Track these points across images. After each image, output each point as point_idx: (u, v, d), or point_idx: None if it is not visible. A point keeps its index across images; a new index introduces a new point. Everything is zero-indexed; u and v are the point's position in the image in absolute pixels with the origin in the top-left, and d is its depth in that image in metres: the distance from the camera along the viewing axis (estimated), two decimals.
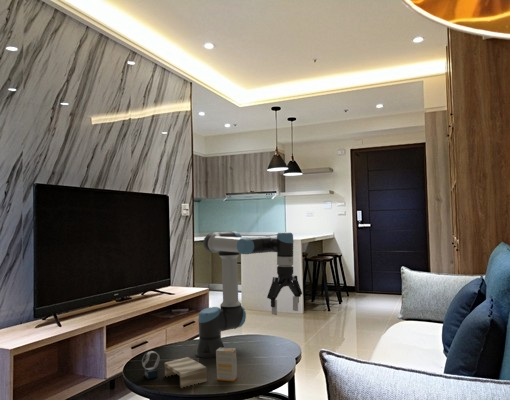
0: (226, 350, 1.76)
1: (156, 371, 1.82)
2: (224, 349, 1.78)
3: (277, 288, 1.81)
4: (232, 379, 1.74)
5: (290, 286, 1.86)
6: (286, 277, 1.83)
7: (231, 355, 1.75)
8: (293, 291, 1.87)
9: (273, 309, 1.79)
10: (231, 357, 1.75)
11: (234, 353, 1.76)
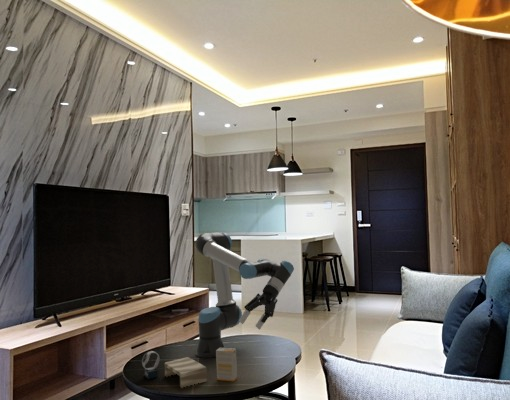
0: (226, 351, 1.76)
1: (156, 371, 1.82)
2: (224, 349, 1.78)
3: (268, 306, 1.87)
4: (232, 379, 1.74)
5: (258, 304, 1.94)
6: None
7: (231, 355, 1.75)
8: (252, 307, 1.94)
9: (260, 323, 1.81)
10: (231, 357, 1.75)
11: (234, 353, 1.76)
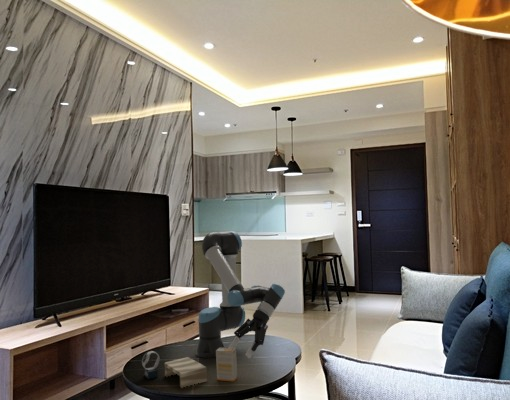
0: (226, 351, 1.76)
1: (156, 371, 1.82)
2: (224, 349, 1.78)
3: (258, 333, 1.81)
4: (232, 379, 1.74)
5: (248, 330, 1.88)
6: None
7: (231, 355, 1.75)
8: (242, 333, 1.88)
9: (250, 352, 1.75)
10: (231, 357, 1.75)
11: (234, 353, 1.76)
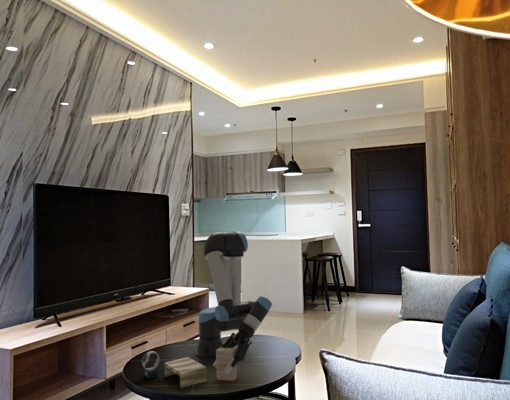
0: (226, 350, 1.76)
1: (156, 371, 1.82)
2: (224, 349, 1.78)
3: (241, 348, 1.78)
4: (232, 379, 1.74)
5: (234, 344, 1.83)
6: None
7: (231, 355, 1.75)
8: None
9: (229, 368, 1.72)
10: (231, 357, 1.75)
11: (234, 353, 1.76)
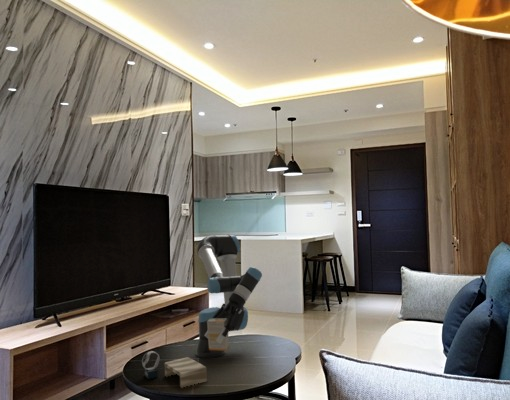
0: (217, 321, 1.76)
1: (156, 371, 1.82)
2: (215, 319, 1.78)
3: (232, 318, 1.78)
4: (224, 348, 1.75)
5: (225, 314, 1.84)
6: None
7: (222, 325, 1.75)
8: None
9: (221, 337, 1.73)
10: (222, 327, 1.75)
11: (225, 323, 1.77)
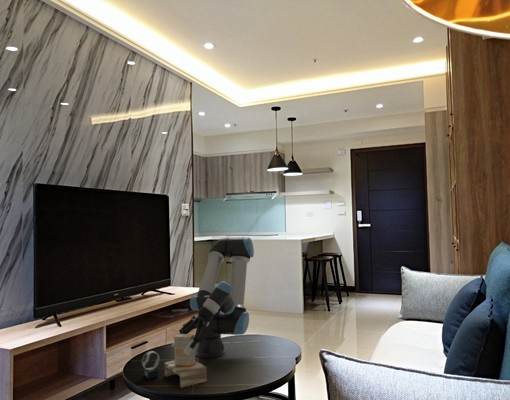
0: (184, 336, 1.79)
1: (156, 371, 1.82)
2: (182, 335, 1.81)
3: (200, 331, 1.80)
4: (189, 364, 1.77)
5: (192, 327, 1.87)
6: None
7: (189, 340, 1.78)
8: (187, 331, 1.87)
9: (188, 349, 1.74)
10: (188, 343, 1.77)
11: None
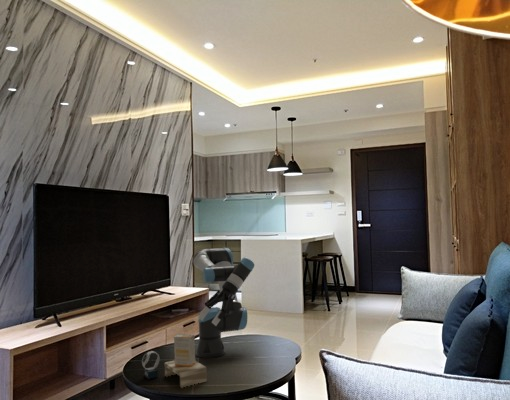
0: (184, 336, 1.79)
1: (156, 371, 1.82)
2: (182, 335, 1.81)
3: (226, 303, 1.88)
4: (189, 364, 1.77)
5: (217, 300, 1.95)
6: None
7: (188, 341, 1.77)
8: (212, 304, 1.96)
9: (216, 320, 1.83)
10: (188, 343, 1.77)
11: (192, 339, 1.79)
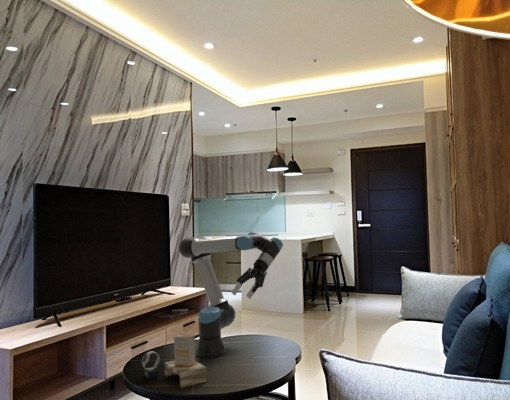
0: (184, 336, 1.79)
1: (156, 371, 1.82)
2: (182, 335, 1.81)
3: (258, 278, 2.02)
4: (189, 364, 1.77)
5: (249, 277, 2.09)
6: None
7: (188, 341, 1.77)
8: (244, 280, 2.09)
9: (250, 293, 1.96)
10: (188, 343, 1.77)
11: (192, 339, 1.79)
